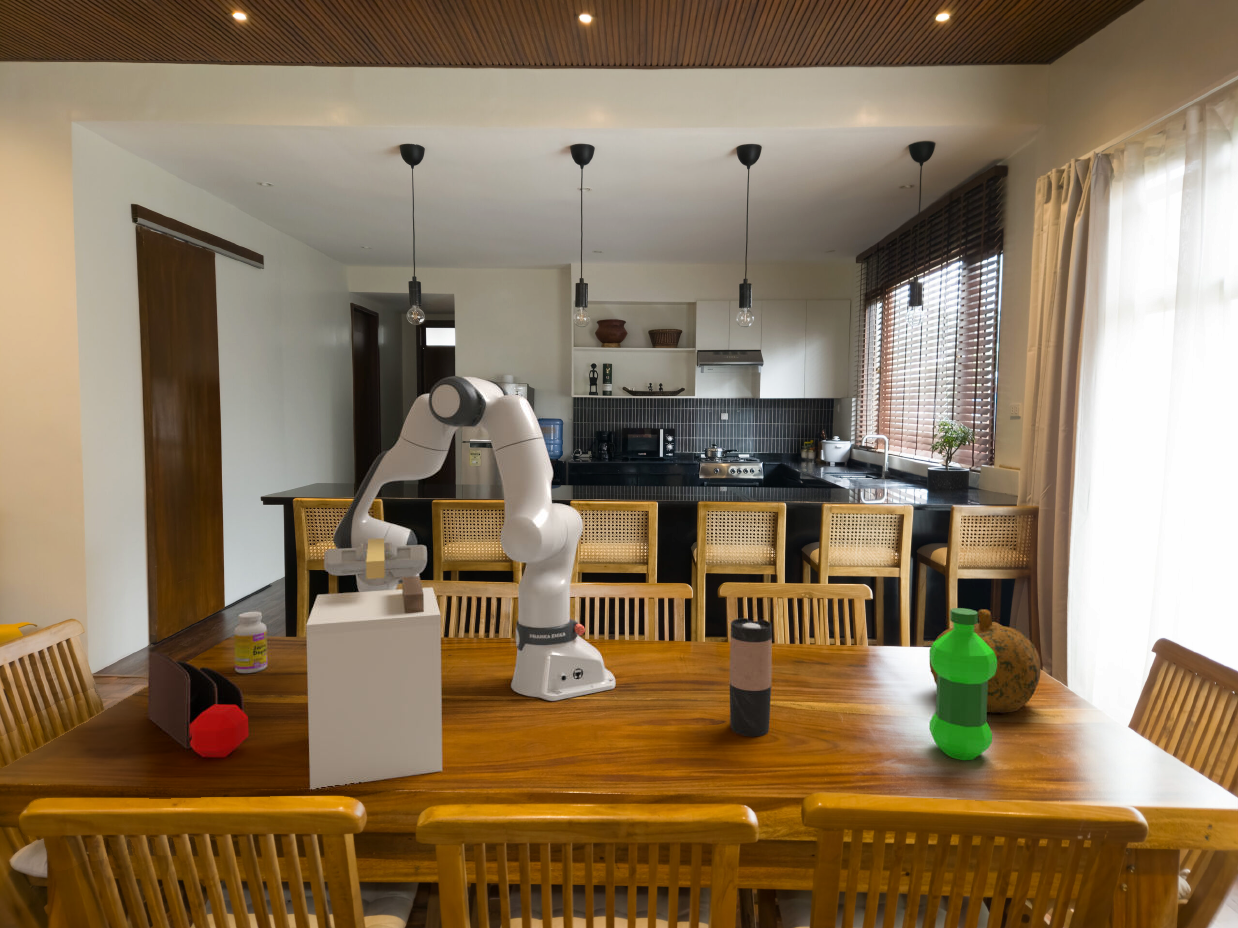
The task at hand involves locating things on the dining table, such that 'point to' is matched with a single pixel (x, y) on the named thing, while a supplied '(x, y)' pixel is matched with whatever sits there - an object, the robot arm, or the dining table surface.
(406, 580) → the walnut bar
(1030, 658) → the decorative pumpkin
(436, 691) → the off-white stand
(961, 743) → the plastic bottle
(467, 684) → the dining table surface
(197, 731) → the ball
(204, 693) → the letter holder
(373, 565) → the ochre bar
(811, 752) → the dining table surface
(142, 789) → the dining table surface
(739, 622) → the travel mug
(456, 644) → the dining table surface
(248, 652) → the supplement bottle
